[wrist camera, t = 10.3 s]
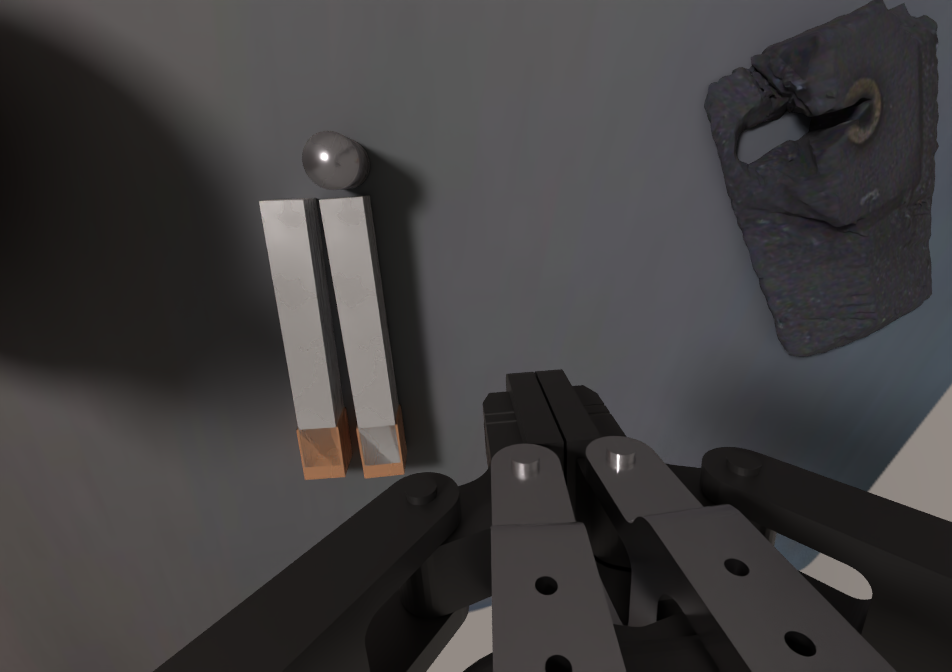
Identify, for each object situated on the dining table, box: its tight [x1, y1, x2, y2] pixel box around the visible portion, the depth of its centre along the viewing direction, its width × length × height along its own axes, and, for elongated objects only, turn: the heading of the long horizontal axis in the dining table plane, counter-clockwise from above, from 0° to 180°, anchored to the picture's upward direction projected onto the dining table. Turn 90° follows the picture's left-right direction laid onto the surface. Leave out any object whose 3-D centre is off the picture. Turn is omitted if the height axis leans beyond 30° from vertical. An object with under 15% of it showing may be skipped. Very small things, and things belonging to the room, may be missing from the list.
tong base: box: [259, 131, 370, 480], centre depth 30 cm, size 22×6×4 cm, turn 2°
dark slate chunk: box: [704, 0, 939, 357], centre depth 31 cm, size 15×22×5 cm
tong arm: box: [319, 195, 407, 478], centre depth 31 cm, size 19×3×3 cm, turn 4°
